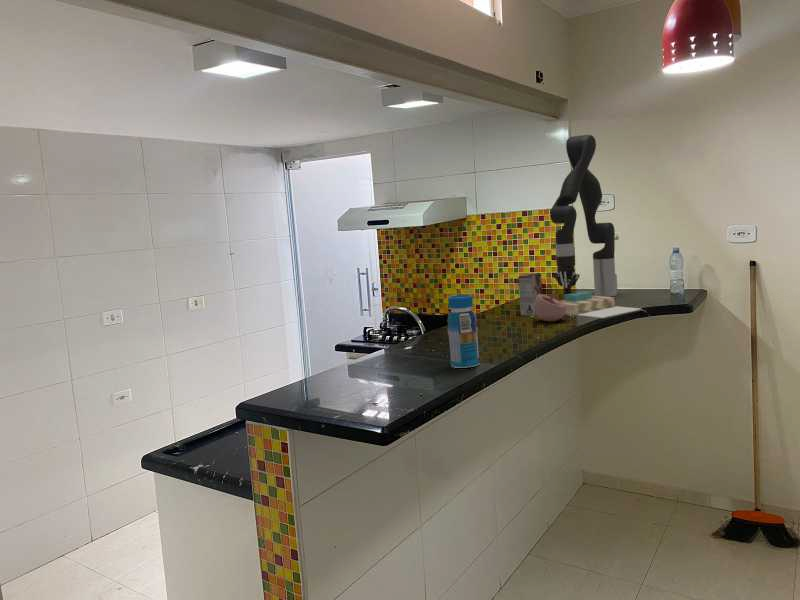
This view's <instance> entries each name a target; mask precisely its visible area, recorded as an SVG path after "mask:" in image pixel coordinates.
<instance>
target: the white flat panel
mask: <svg viewBox="0 0 800 600" xmlns="http://www.w3.org/2000/svg"><path fill="white" fill-rule="evenodd" d="M641 310H642V308H639V307H638V308H637V307H628V306H627V307H626V306H618V305H617V306H616V305H615V307H611V308H607V309H602V310H597V311H592V312H588V313H583V314H578V315H577V316H579V317H585V316H586V318H595V319H607V318H611V317H616V316H620V315H624V314H628V313H629V314H630V313H634V312H638V311H641Z"/></svg>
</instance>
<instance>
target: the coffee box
mask: <svg viewBox="0 0 800 600" xmlns="http://www.w3.org/2000/svg"><path fill="white" fill-rule="evenodd" d="M517 279H518V291H519V292H518V293H519V305H520V306H519V308H520V309H519V310H520V316H527V317H528V316H529V317H530V316H531V317H533V316H534V317H535V316H537V315H536V313H535V311H534V301H535V298H536V297H537V295H538V294H543V289H542V273H540V272H539V273H525V274H522V275H519V276H518V278H517Z"/></svg>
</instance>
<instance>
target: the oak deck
mask: <svg viewBox="0 0 800 600" xmlns="http://www.w3.org/2000/svg"><path fill="white" fill-rule="evenodd" d="M591 298H592V299H587V300H582V301H577V302H573V301H565V299H561V300H559V301H560V302H562V303H564V304H566V305H567V309H566V312H565V314H564V315H567V316H568V315H569V316H578V314H583V313H588V312H592V311H597V310H602V309H607V308H611V307H616V305H615V296H612V297H603V296H595V295H591Z"/></svg>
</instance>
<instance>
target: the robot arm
mask: <svg viewBox="0 0 800 600" xmlns="http://www.w3.org/2000/svg"><path fill="white" fill-rule="evenodd" d="M565 145H566V146H565V147H566V149H565V150H566V153H567V156H568V160H569V163H570V165H571V168H572V170H571V171H570V172H569V173H568V174H567V176H566V177H565V178H564V180H563V182H562V184H561V190H560V193H559V195H558V197H557V199H556V200H555V203H554V204H553V205H552V207H551V209H550V213H549V216H550V221H551V222H552V223H554V224H556V225H558V224H563V227H562V228H561V229H558V230H556V231H555V261H556V267H557V272H556V273H553V277H554V279H555V281H556V282H557V283H558V285H559V287H562V288H563V296H564V295H565V294H571V293H572V287H574V286H575V285H576V283H577V282H578V280H579V278H580V274H578V273H576V268H575V266H576V252H575V243H574V230H575V226H576V222H577V221H576V220H577V211H576V208H575V207H574V206H572V204H574V203H576V201H577V199H578V195H579V198H580V202H581V205H582V209H583V215H584V219H585V225H586V230H587V237H588V240H589V242H590V243H591V244H593V245H594V244H597V245H598V244H604V247H603V248H601V249H599V250H597V251H594V252H593V253H592V261H593V263H592V264H593V266H592V267H593V282H594V283H593V285H594V286H593V287H594V288H593V289H594V296H603V297H611V296H612V297H615V296H617V295H618V278H617V274H616V265H615V248H616V247H615V245H616V243H615V240H616V239H615V234H616V233H615V232H616V231H615V230H616V229H615V226H614V224H613V223H612V222H597V221H596V215H597V211H598V209H599V206H600V204H601V202H602V199H603V192H602V187H601V185H600V182H599V180H598V178H597V177H596V176H595V175H594V173H592V171H591V170H590V169H589V166H590V164H591V162H592V159H593V157H594V155H595V152H596V148H597V142H596V139H595V137H594V135H592V134H583V135H574V136H570V137H568V138H567V140H566V143H565Z"/></svg>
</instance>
